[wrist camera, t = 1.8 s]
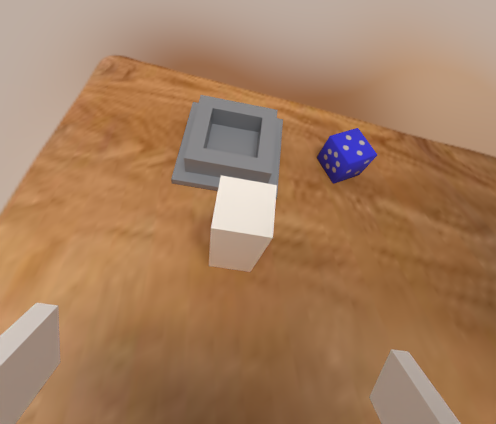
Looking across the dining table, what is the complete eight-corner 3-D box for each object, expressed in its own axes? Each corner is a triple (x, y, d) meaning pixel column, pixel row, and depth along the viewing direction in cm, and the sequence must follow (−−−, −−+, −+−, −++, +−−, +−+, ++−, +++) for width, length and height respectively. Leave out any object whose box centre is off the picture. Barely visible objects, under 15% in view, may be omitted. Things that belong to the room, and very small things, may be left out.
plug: (254, 233, 35) (276, 185, 24) (250, 272, 33) (272, 237, 22) (215, 227, 35) (220, 175, 24) (208, 266, 32) (210, 227, 22)
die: (342, 149, 43) (358, 127, 39) (359, 174, 42) (378, 154, 37) (316, 157, 42) (329, 135, 37) (332, 184, 40) (349, 164, 36)
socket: (281, 124, 44) (288, 104, 40) (275, 200, 37) (282, 185, 34) (193, 107, 42) (192, 85, 39) (172, 183, 36) (168, 165, 33)
